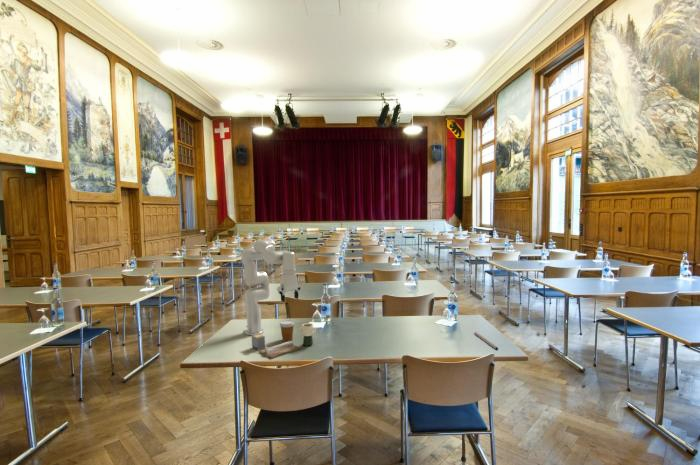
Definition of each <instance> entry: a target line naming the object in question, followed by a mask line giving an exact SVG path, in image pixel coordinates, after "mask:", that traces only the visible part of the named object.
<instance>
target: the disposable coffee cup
mask: <svg viewBox="0 0 700 465" xmlns="http://www.w3.org/2000/svg"><path fill="white" fill-rule="evenodd" d="M294 325H295V322H294V320H291V319H285V320H281V321H280V323H279V326H280V331H281V337H282V341H283V342H289V341H291V342H292V340H293V336H294Z"/></svg>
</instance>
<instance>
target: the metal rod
mask: <svg viewBox="0 0 700 465" xmlns="http://www.w3.org/2000/svg"><path fill="white" fill-rule="evenodd" d="M473 334H474V335H475V336H477V337H478V338H479V339H480V340H482V341H483V342H484V343H486V344H487V345H489V346H490V347H491V348H493V350H499V347H498V346H497V345H495V344H494V343H492V342H491V341H489V340H488V339H487V338H486V337H484V336H483V335H481V334H480V333H478V332H477V331H475V332H474V333H473Z"/></svg>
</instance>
